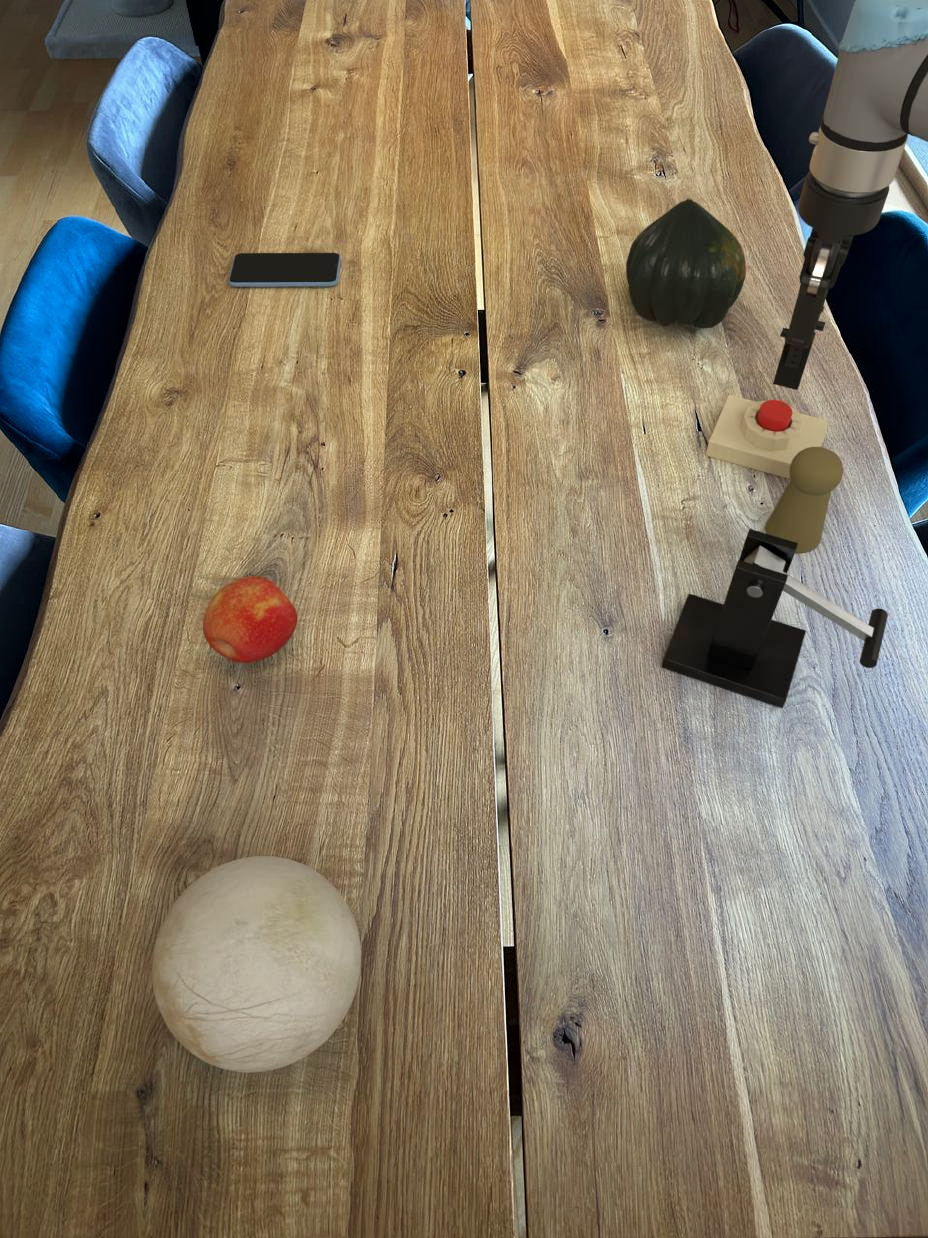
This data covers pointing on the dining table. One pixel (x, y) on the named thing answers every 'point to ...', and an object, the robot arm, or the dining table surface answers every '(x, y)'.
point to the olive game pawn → (806, 498)
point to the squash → (685, 268)
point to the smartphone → (285, 269)
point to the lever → (829, 608)
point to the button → (774, 415)
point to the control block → (762, 438)
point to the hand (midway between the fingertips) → (786, 382)
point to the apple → (249, 620)
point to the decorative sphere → (256, 964)
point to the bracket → (741, 631)
